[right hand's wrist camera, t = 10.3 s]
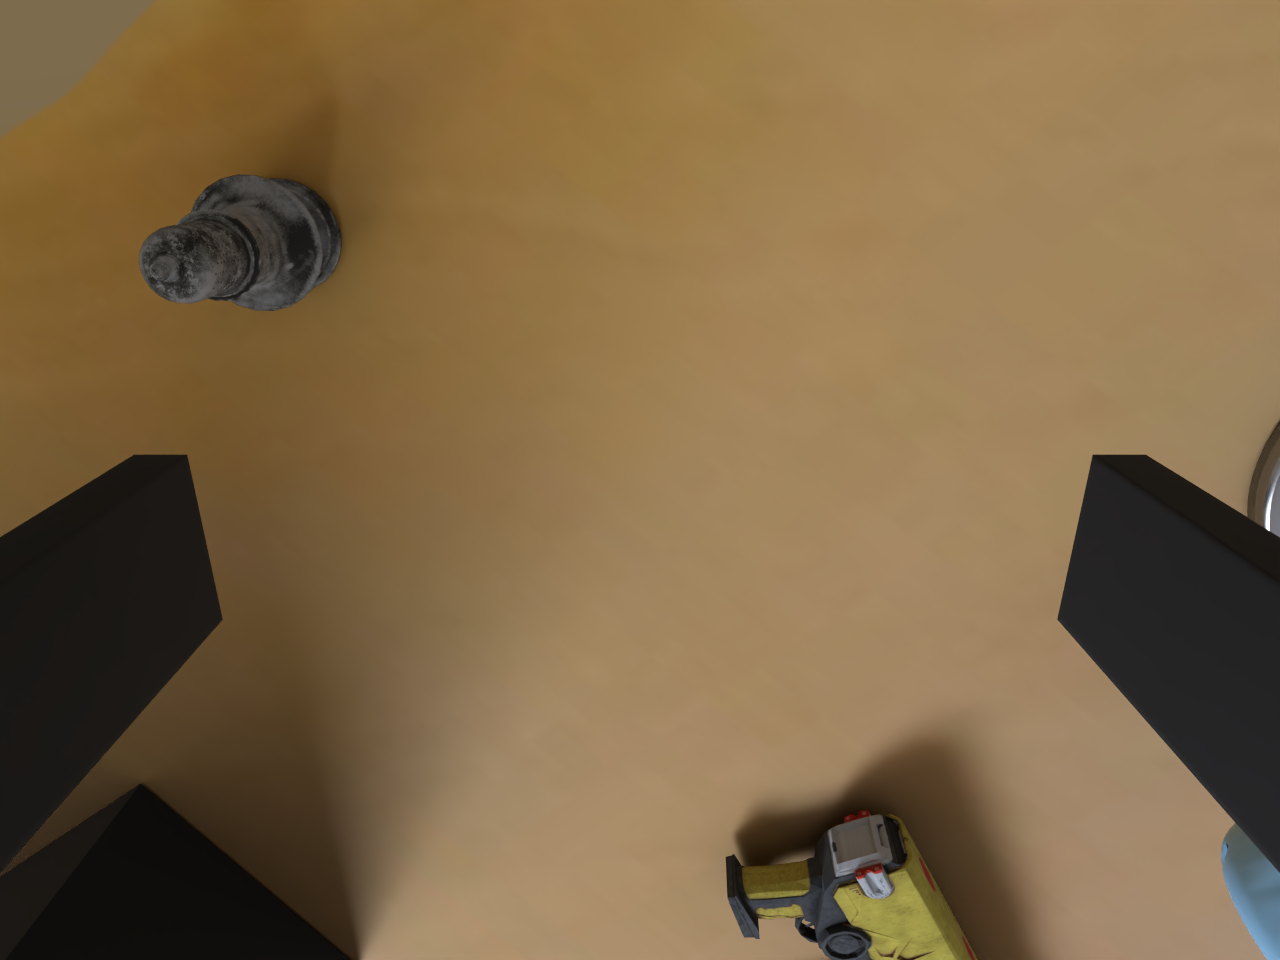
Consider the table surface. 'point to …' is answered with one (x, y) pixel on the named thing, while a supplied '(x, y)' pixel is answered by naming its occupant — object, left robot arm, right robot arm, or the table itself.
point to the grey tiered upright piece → (245, 245)
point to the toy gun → (854, 896)
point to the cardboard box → (144, 897)
